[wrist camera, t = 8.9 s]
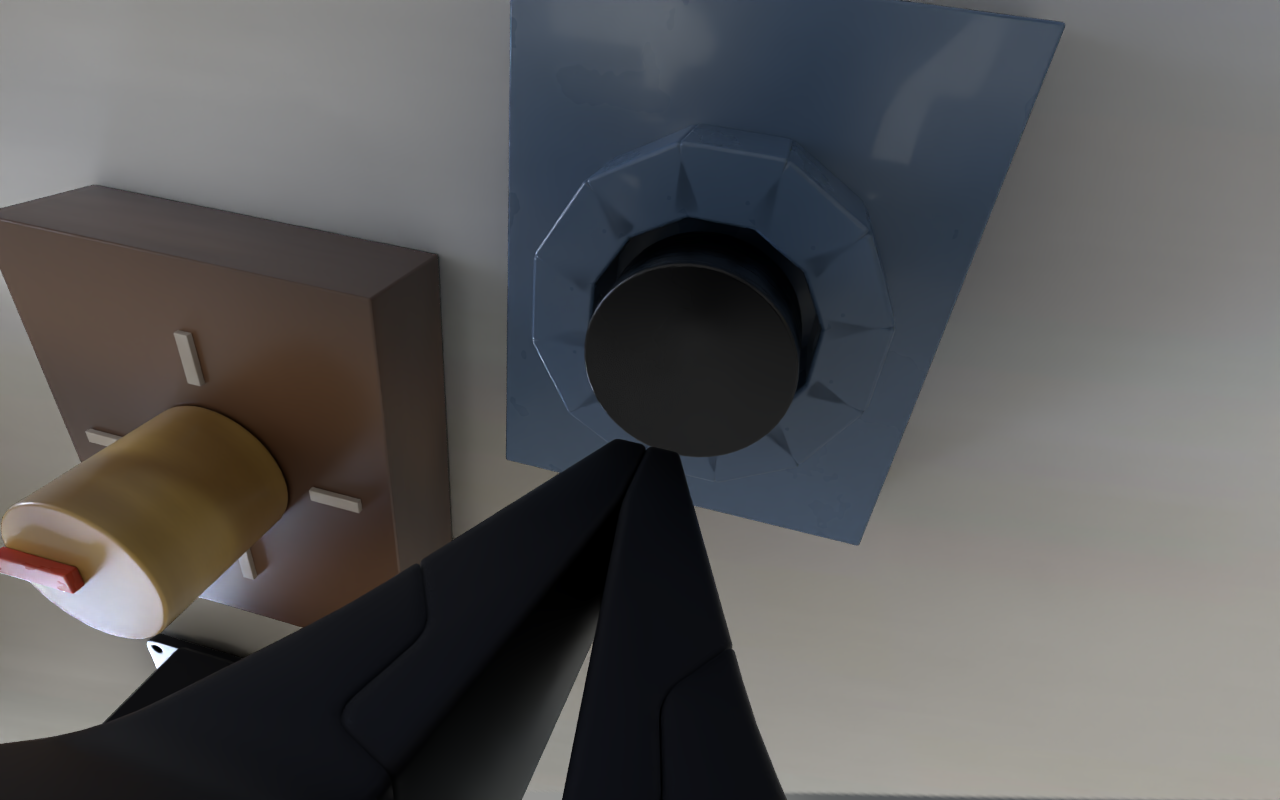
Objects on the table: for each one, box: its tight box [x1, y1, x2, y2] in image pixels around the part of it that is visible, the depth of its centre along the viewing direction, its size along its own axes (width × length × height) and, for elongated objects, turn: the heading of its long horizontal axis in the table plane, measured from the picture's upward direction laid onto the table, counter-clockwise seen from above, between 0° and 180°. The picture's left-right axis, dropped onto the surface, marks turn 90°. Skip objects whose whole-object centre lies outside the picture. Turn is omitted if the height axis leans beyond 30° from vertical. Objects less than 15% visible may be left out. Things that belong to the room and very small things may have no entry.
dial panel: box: [0, 185, 452, 628], centre depth 19 cm, size 12×10×3 cm
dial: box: [0, 406, 288, 639], centre depth 16 cm, size 4×4×4 cm
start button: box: [584, 231, 802, 457], centre depth 12 cm, size 4×4×2 cm
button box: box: [506, 0, 1065, 545], centre depth 14 cm, size 11×9×4 cm
